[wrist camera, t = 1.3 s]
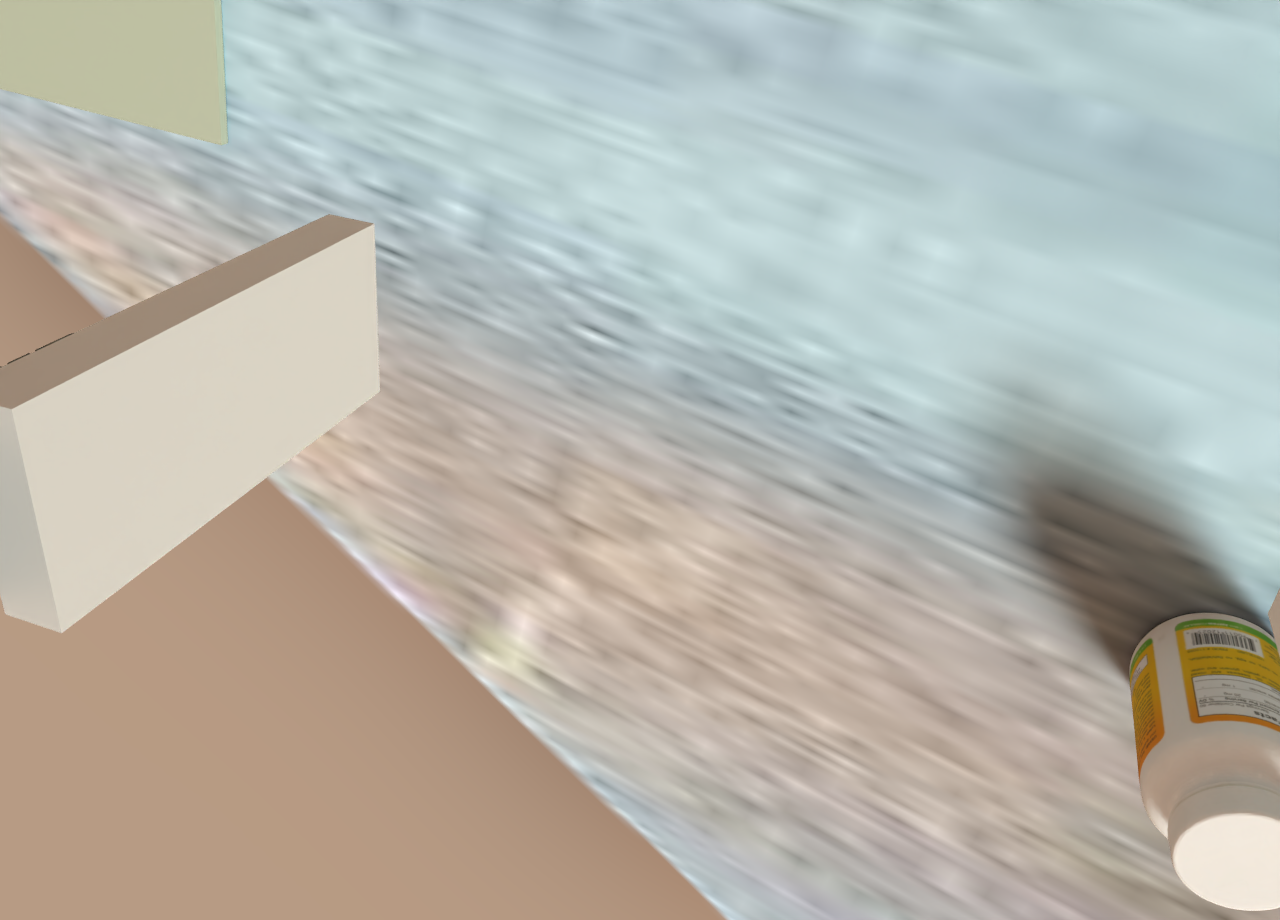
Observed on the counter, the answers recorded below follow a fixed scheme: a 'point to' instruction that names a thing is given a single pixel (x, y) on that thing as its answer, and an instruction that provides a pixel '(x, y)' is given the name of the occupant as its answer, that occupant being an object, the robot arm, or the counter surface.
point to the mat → (121, 60)
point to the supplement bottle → (1212, 753)
